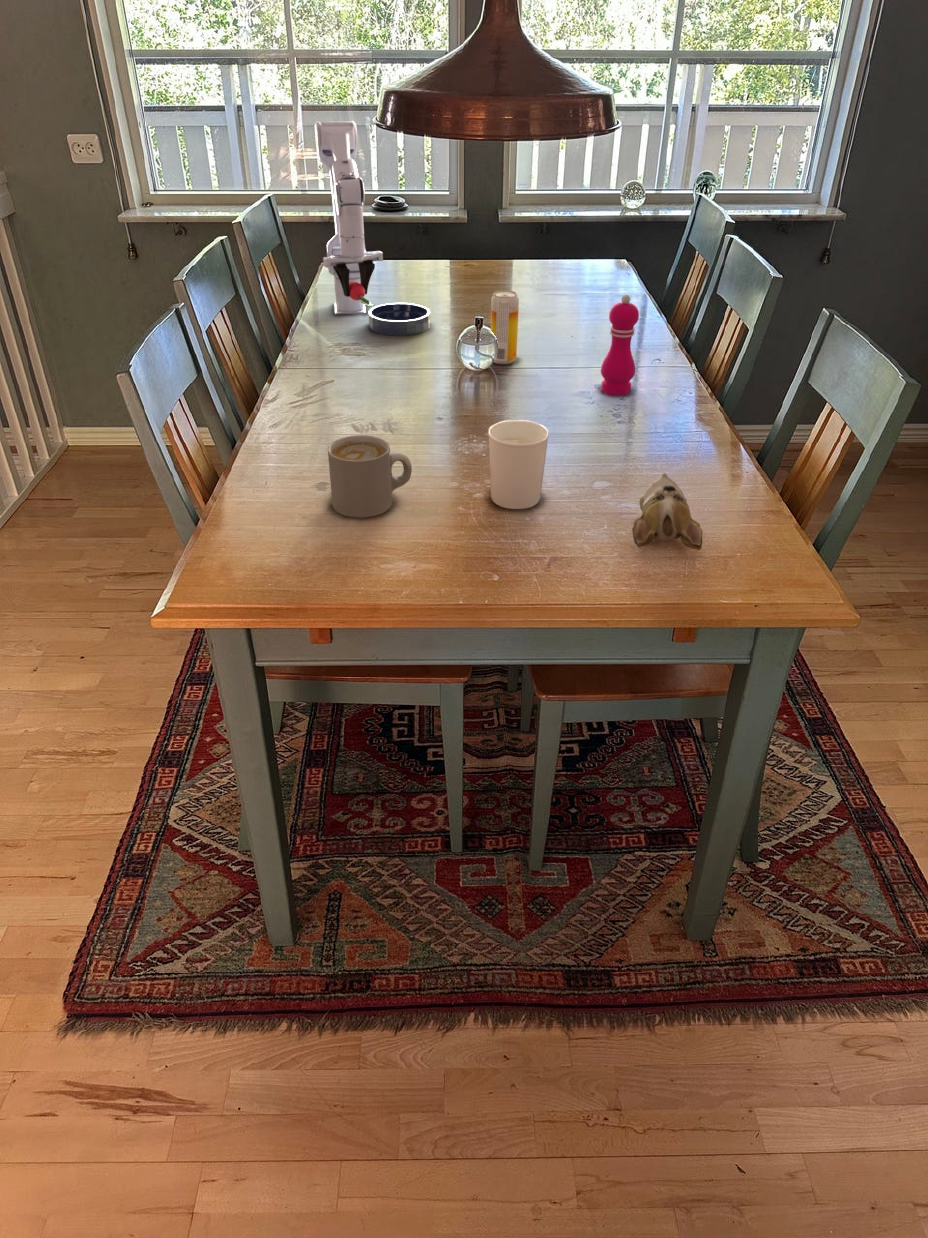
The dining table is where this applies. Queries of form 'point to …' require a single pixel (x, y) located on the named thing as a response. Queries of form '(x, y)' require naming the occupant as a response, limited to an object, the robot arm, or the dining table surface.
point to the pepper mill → (620, 349)
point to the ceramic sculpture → (666, 516)
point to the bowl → (399, 319)
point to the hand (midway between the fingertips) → (355, 294)
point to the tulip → (358, 293)
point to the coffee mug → (364, 475)
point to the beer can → (505, 324)
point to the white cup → (517, 462)
